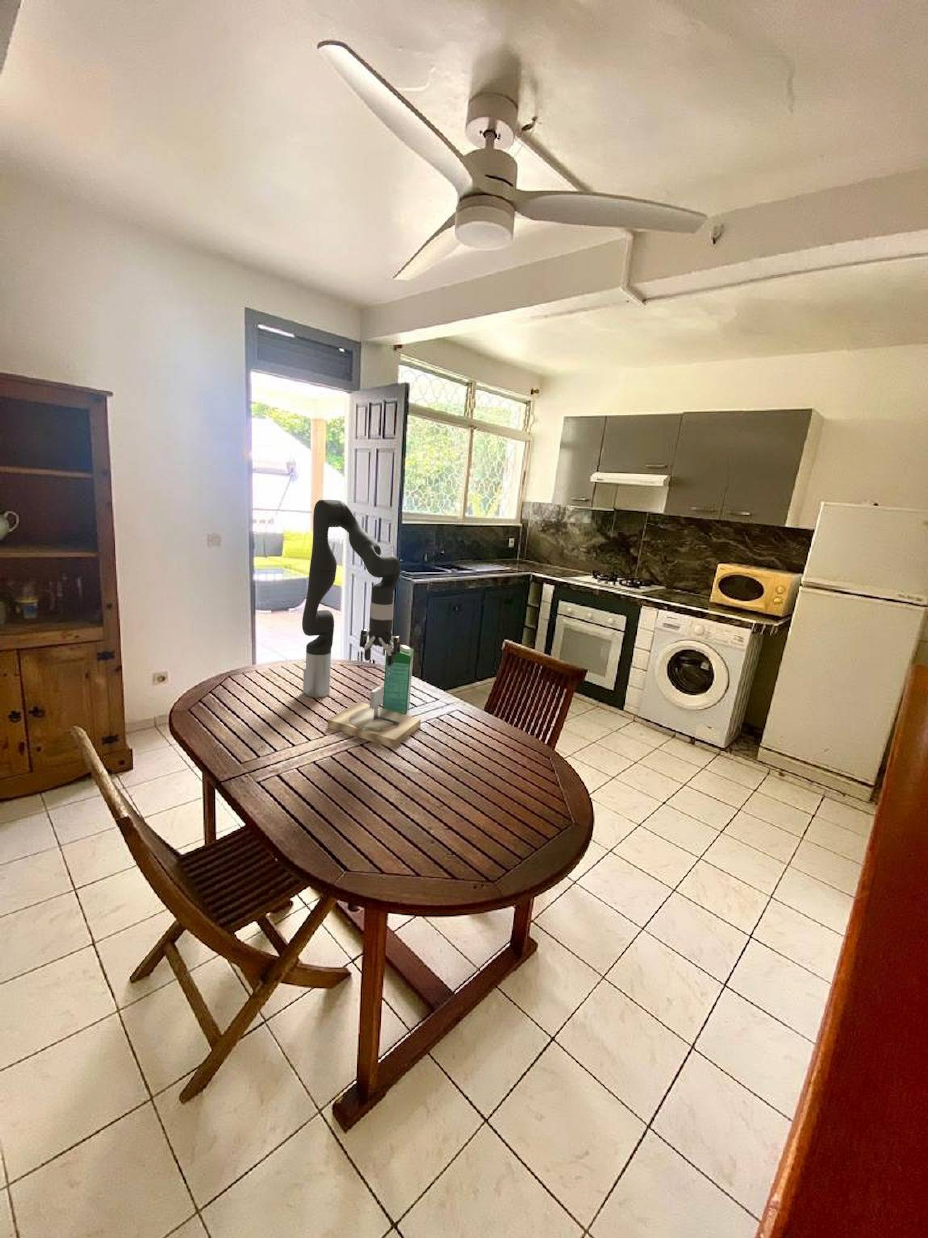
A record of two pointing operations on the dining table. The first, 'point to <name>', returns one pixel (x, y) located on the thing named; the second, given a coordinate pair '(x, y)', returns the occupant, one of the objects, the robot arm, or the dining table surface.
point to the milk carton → (398, 681)
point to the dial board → (374, 724)
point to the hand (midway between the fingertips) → (378, 662)
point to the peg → (378, 702)
